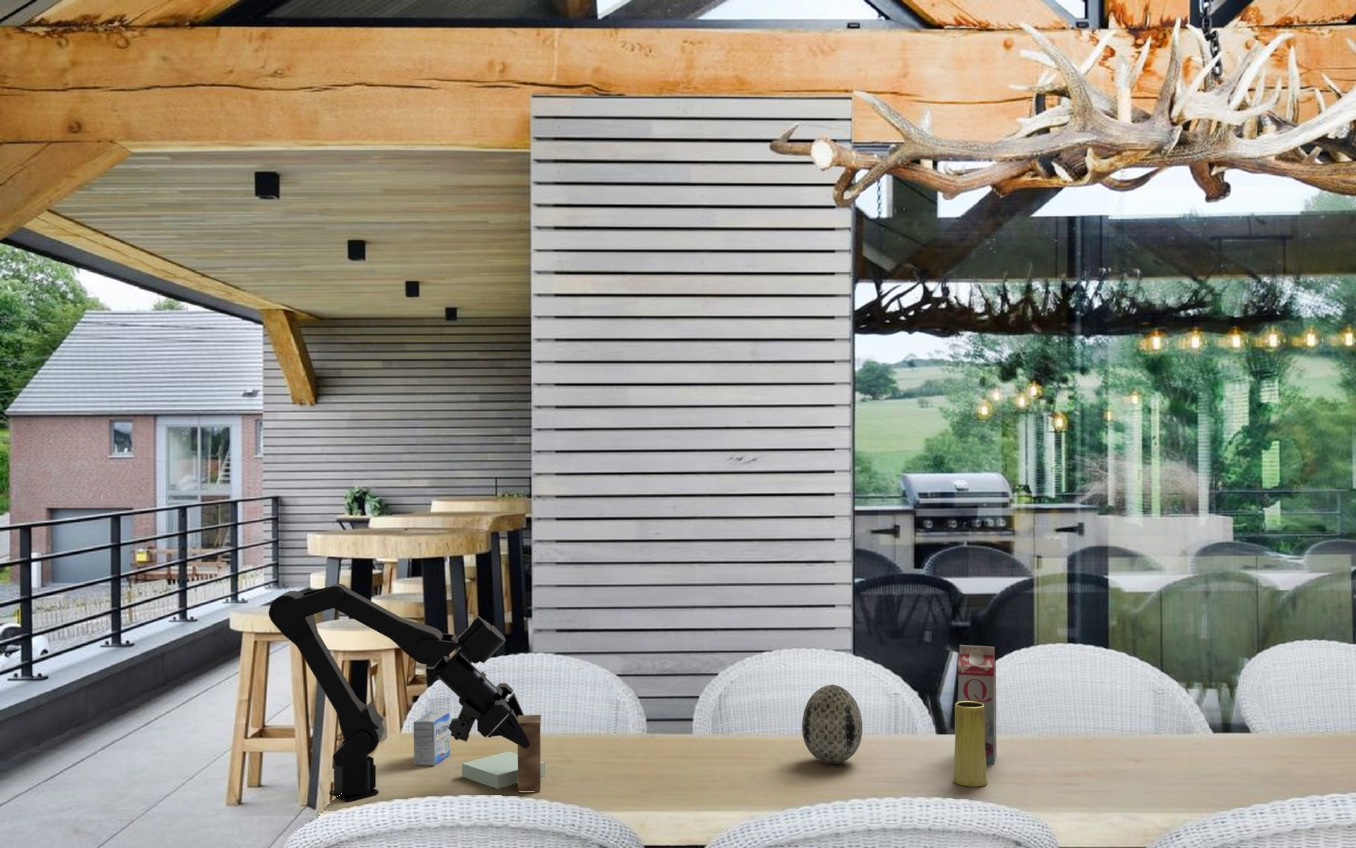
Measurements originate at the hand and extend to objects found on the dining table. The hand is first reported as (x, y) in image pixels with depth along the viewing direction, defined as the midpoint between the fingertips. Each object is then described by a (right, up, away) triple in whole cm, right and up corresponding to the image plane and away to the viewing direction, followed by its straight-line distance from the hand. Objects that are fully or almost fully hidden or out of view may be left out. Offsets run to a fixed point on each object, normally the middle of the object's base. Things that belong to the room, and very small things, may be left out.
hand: (528, 740), depth 213 cm
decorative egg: (+57, -9, +14) cm, 60 cm away
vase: (+81, -8, +1) cm, 81 cm away
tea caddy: (0, -9, 0) cm, 9 cm away
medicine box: (-21, -9, +18) cm, 29 cm away
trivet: (-6, -9, +7) cm, 12 cm away
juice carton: (+86, -8, +17) cm, 88 cm away
